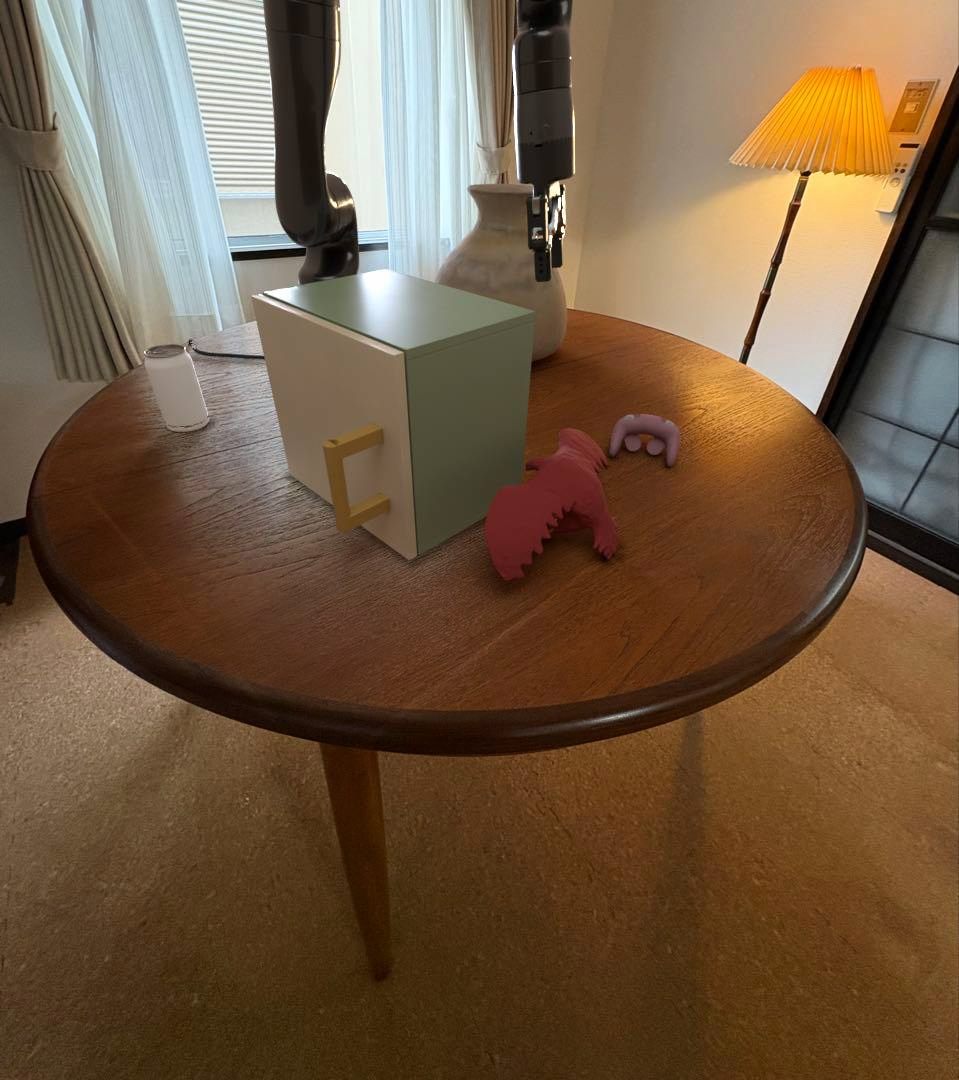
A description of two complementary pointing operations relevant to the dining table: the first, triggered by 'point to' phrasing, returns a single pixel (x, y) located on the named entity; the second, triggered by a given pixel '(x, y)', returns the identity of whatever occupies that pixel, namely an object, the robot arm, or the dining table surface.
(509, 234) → the jug
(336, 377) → the door
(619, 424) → the video game controller
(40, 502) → the dining table surface
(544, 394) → the dining table surface
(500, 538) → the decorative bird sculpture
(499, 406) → the cupboard
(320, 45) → the robot arm
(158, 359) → the can
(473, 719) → the dining table surface
